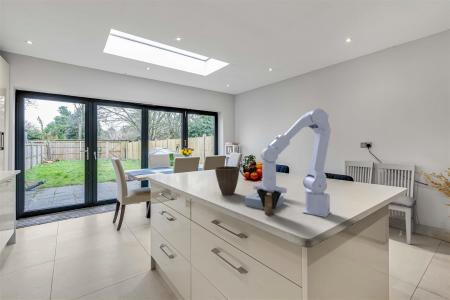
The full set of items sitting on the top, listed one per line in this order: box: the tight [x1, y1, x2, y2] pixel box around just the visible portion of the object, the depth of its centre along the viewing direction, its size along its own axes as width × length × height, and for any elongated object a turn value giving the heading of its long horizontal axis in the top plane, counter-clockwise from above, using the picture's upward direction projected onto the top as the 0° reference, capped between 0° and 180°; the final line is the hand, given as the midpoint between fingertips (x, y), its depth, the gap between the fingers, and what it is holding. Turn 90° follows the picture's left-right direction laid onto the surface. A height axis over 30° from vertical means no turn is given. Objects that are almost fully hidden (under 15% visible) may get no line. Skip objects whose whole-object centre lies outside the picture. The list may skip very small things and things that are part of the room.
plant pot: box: [214, 166, 240, 196], centre depth 124 cm, size 15×15×16 cm
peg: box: [264, 194, 275, 216], centre depth 88 cm, size 4×4×8 cm
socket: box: [244, 192, 284, 211], centre depth 101 cm, size 14×14×4 cm
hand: (269, 207), depth 88 cm, fingers closed on peg, 4 cm apart
